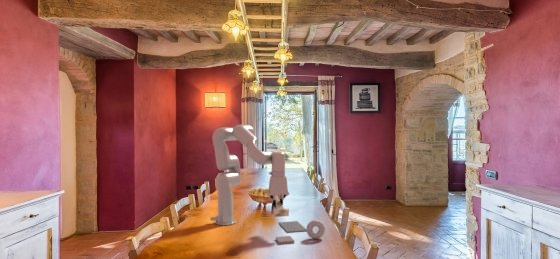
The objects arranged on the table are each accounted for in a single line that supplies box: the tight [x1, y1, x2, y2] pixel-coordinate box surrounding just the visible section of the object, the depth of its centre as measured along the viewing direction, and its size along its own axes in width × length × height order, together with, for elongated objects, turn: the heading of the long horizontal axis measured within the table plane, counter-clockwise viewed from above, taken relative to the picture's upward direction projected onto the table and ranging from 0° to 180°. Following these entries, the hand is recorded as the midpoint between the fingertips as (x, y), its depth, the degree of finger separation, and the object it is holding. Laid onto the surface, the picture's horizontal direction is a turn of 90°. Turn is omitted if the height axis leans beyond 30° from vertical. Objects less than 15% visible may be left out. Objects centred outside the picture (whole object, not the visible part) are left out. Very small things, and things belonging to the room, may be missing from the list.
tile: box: [275, 235, 295, 245], centre depth 175 cm, size 8×2×8 cm
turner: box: [271, 196, 290, 218], centre depth 188 cm, size 8×17×4 cm, turn 14°
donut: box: [305, 219, 326, 240], centre depth 179 cm, size 10×4×10 cm, turn 91°
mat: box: [278, 220, 307, 234], centre depth 201 cm, size 12×20×1 cm, turn 14°
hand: (277, 206), depth 189 cm, fingers closed on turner, 3 cm apart
